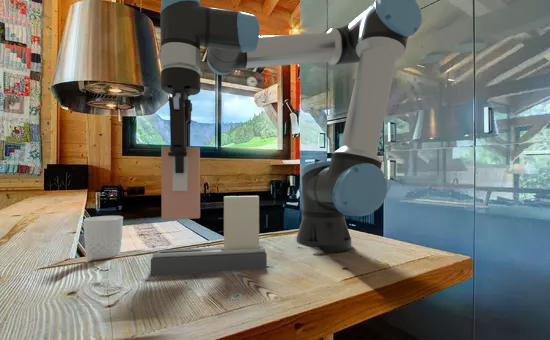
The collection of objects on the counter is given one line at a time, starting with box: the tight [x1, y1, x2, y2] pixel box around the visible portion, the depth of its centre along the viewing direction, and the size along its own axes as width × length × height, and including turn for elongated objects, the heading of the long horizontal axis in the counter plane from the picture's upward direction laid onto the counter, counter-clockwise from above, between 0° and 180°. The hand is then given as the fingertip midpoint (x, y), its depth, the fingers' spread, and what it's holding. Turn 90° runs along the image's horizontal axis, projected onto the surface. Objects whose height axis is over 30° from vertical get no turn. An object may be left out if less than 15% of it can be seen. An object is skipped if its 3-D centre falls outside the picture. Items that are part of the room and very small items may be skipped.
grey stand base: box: [150, 245, 268, 277], centre depth 58 cm, size 22×6×5 cm, turn 100°
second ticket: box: [223, 195, 260, 250], centre depth 60 cm, size 7×2×14 cm, turn 100°
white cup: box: [83, 215, 124, 264], centre depth 68 cm, size 8×8×10 cm
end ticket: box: [160, 145, 201, 220], centre depth 58 cm, size 7×2×14 cm, turn 100°
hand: (181, 189), depth 58 cm, fingers closed on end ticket, 2 cm apart
